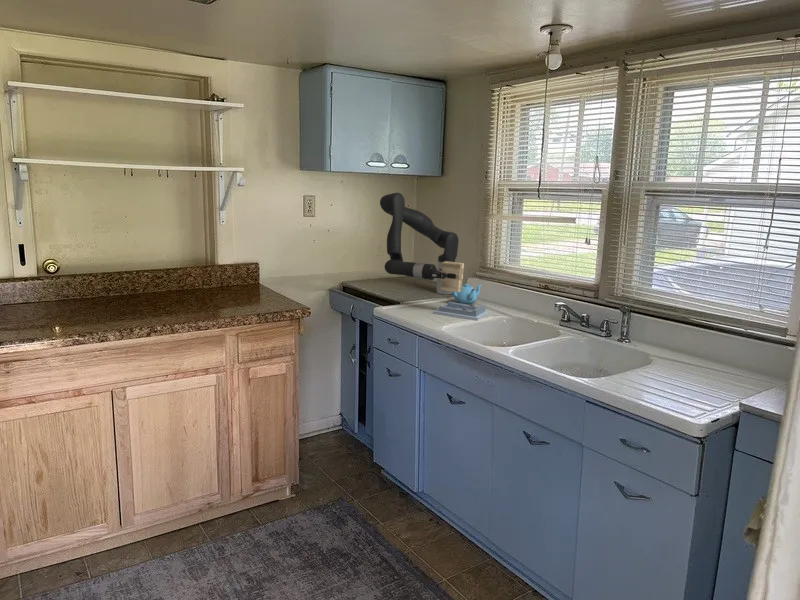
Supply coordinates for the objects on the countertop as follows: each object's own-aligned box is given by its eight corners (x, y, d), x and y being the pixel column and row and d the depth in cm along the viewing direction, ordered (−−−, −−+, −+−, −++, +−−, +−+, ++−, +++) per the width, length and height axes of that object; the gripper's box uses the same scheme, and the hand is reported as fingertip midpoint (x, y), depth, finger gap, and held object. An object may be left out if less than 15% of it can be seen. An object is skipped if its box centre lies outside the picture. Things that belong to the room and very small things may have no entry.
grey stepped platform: (446, 307, 288) (446, 298, 287) (489, 313, 278) (489, 305, 277) (432, 313, 274) (433, 304, 273) (477, 320, 264) (478, 311, 264)
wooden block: (444, 288, 280) (446, 261, 277) (461, 290, 276) (463, 263, 273) (440, 289, 276) (442, 262, 274) (458, 292, 272) (460, 264, 270)
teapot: (458, 299, 306) (459, 280, 304) (482, 303, 300) (484, 283, 298) (448, 304, 295) (449, 284, 293) (473, 307, 289) (474, 287, 287)
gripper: (418, 265, 274) (452, 269, 267) (431, 261, 286) (464, 265, 279) (417, 281, 276) (451, 286, 268) (430, 276, 288) (462, 281, 281)
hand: (457, 275), depth 274 cm, fingers closed on wooden block, 4 cm apart
